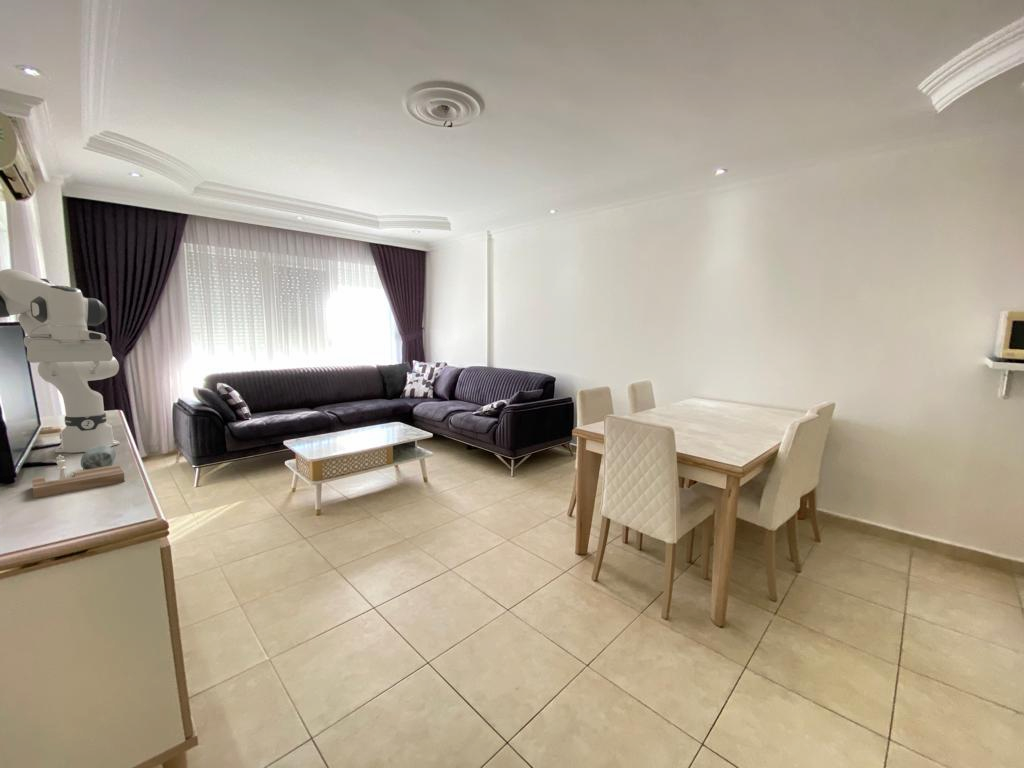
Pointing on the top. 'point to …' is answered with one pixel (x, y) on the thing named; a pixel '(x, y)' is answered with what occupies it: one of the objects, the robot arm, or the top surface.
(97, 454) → the yarn ball
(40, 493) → the notch board
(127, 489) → the top surface
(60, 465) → the chess piece
